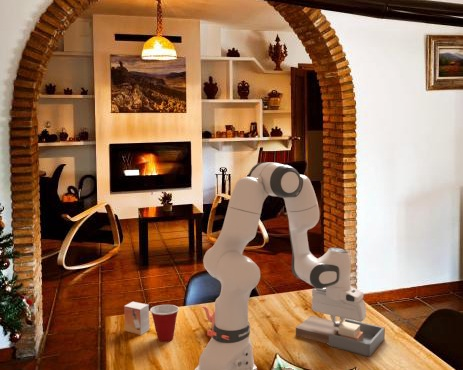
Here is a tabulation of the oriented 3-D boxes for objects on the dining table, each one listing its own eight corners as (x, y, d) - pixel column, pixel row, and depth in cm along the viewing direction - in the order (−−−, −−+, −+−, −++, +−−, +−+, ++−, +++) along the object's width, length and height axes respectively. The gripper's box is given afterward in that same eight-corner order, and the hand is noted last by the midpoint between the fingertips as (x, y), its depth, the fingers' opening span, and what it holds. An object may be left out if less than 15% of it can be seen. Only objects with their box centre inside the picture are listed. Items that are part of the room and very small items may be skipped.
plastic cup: (183, 332, 191) (182, 303, 190) (175, 345, 181) (174, 314, 179) (156, 331, 193) (155, 301, 191) (147, 344, 183) (145, 313, 181)
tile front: (357, 345, 178) (357, 338, 177) (341, 341, 181) (341, 334, 180) (363, 338, 182) (363, 332, 182) (347, 334, 186) (347, 328, 185)
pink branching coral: (244, 337, 187) (244, 311, 185) (198, 335, 189) (197, 309, 188) (248, 324, 198) (248, 299, 196) (204, 322, 201) (203, 297, 199)
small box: (124, 331, 194) (123, 305, 192) (133, 326, 198) (132, 300, 197) (141, 335, 190) (139, 309, 188) (150, 329, 195) (148, 304, 193)
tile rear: (354, 337, 178) (354, 331, 177) (338, 333, 181) (338, 327, 181) (360, 331, 183) (360, 325, 182) (344, 327, 186) (344, 321, 186)
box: (369, 357, 170) (369, 344, 169) (328, 346, 178) (328, 334, 178) (384, 339, 183) (384, 327, 182) (345, 329, 191) (345, 318, 190)
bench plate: (331, 344, 179) (331, 337, 179) (295, 335, 187) (295, 327, 187) (345, 331, 190) (345, 324, 189) (310, 322, 198) (311, 315, 197)
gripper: (308, 288, 185) (308, 323, 187) (361, 299, 174) (361, 336, 176) (315, 283, 191) (315, 317, 193) (367, 293, 179) (367, 329, 181)
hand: (337, 326), depth 184 cm, fingers closed
